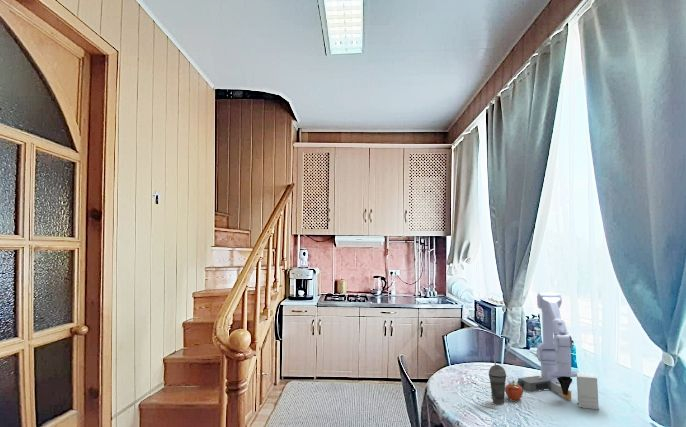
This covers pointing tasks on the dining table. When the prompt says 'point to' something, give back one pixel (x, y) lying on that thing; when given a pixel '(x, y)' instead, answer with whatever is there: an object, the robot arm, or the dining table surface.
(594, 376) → the supplement box
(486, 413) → the dining table surface
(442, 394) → the dining table surface
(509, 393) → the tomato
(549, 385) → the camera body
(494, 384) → the beverage cup
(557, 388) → the side door
